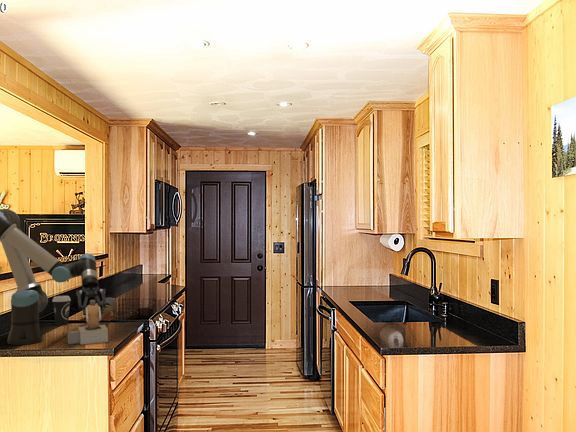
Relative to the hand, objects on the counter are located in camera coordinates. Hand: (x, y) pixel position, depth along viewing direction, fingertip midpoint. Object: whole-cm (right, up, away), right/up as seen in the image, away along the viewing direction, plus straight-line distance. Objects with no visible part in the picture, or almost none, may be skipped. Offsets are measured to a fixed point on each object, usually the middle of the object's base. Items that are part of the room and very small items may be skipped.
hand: (93, 319), depth 258 cm
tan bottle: (-2, -4, +3) cm, 5 cm away
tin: (-12, -11, +57) cm, 59 cm away
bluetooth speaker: (-17, -11, +72) cm, 75 cm away
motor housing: (-4, -11, +2) cm, 11 cm away
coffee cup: (-34, -11, +46) cm, 58 cm away
